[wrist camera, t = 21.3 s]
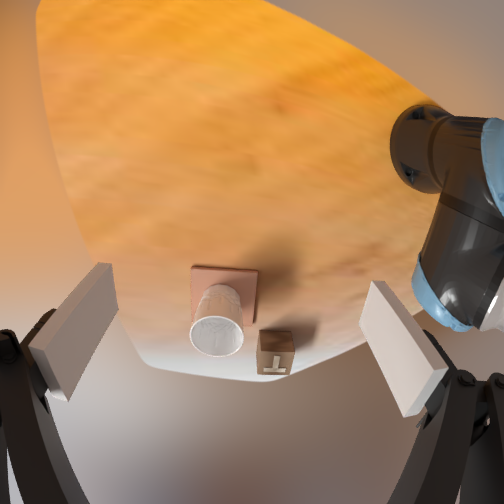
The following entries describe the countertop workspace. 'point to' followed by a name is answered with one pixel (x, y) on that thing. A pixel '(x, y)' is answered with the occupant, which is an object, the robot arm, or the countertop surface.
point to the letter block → (274, 352)
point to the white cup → (218, 322)
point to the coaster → (233, 278)
